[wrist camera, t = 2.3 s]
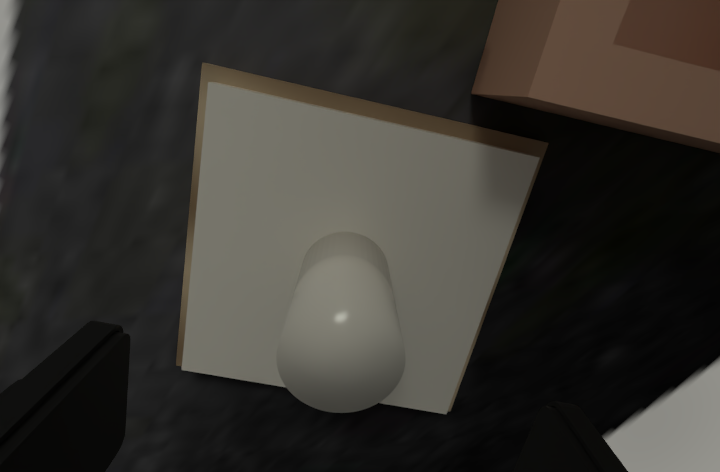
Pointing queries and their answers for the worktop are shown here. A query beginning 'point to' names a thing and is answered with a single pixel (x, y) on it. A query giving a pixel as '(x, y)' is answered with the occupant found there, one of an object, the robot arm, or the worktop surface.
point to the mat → (355, 107)
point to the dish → (610, 64)
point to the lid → (343, 251)
